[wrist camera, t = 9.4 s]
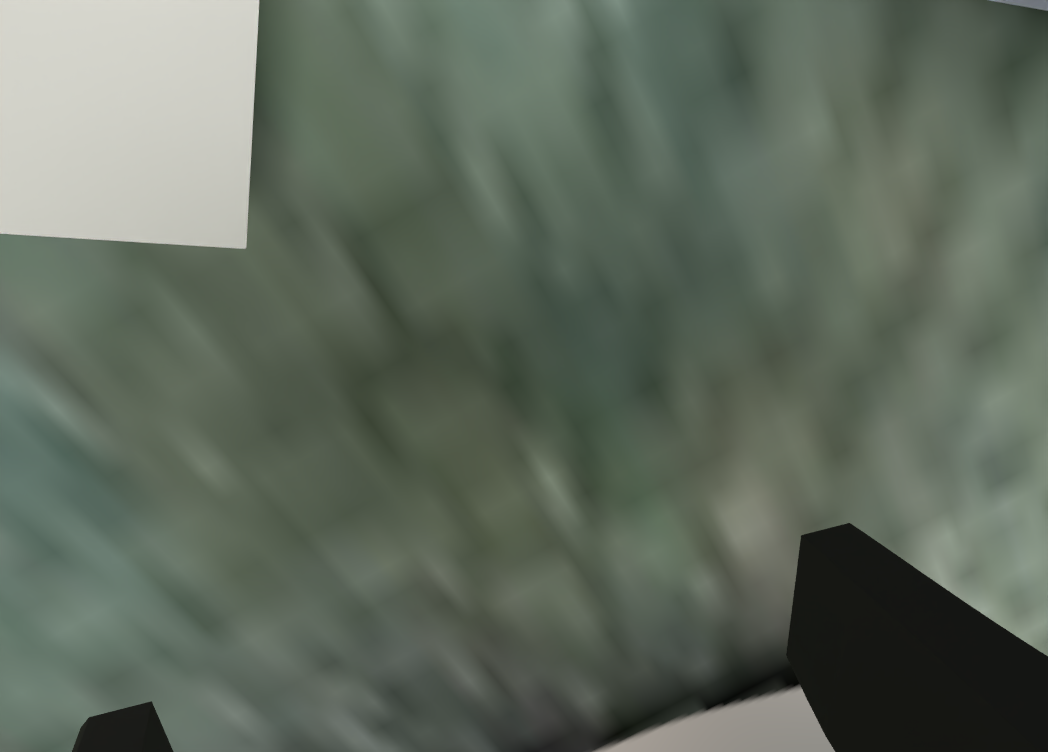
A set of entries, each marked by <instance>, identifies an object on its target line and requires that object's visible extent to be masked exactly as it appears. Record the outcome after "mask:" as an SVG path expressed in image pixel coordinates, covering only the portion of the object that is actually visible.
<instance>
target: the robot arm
mask: <svg viewBox="0 0 1048 752" xmlns="http://www.w3.org/2000/svg"><path fill="white" fill-rule="evenodd" d="M989 1H995V2H1001V3H1006V4H1012V5H1018V6H1023V7H1029V8H1035V9H1040V10H1046V11H1048V0H989ZM786 655H787V658H788V660H789V662H790V664H791V666H792V668H793V670H794V672H795V675H796V677H797V679H798V681H799V683H800V685H801V687H802V689H803V692H804V693H805V696H806V698H807V700H808V702H809V704H810V706H811V708H812V710H813V712H814V714H815V716H816V718H817V719H818V722H819V724H820V726H821V728H822V730H823V732H824V733H825V735H826V737H827V739H828V740H829V742H830V744H831V745H832V747H833V749H834V750H835V752H1048V656H1046V655H1045V654H1043V653H1041V652H1040V651H1038V650H1037V649H1035V648H1034V647H1032V646H1030V645H1029V644H1027V643H1026V642H1024V641H1023V640H1021V639H1020V638H1018V637H1016V636H1015V635H1013V634H1012V633H1010V632H1009V631H1007V630H1006V629H1004V628H1003V627H1001V626H1000V625H998V624H997V623H995V622H994V621H992V620H991V619H989V618H988V617H986V616H985V615H983V614H982V613H980V612H979V611H977V610H976V609H974V608H973V607H971V606H970V605H968V604H967V603H965V602H964V601H962V600H961V599H959V598H958V597H956V596H955V595H954V594H952V593H951V592H949V591H948V590H946V589H945V588H943V587H942V586H940V585H939V584H937V583H936V582H935V581H933V580H932V579H930V578H929V577H927V576H926V575H924V574H923V573H921V572H920V571H919V570H917V569H916V568H914V567H913V566H911V565H910V564H909V563H907V562H906V561H904V560H903V559H901V558H900V557H898V556H897V555H896V554H894V553H893V552H891V551H890V550H888V549H887V548H886V547H884V546H883V545H881V544H880V543H878V542H877V541H875V540H874V539H872V538H871V537H870V536H868V535H867V534H865V533H864V532H862V531H861V530H859V529H858V528H856V527H855V526H853V525H852V524H850V523H848V524H844V525H840V526H836V527H832V528H828V529H824V530H820V531H816V532H812V533H809V534H805V535H801V542H800V550H799V558H798V566H797V574H796V582H795V590H794V598H793V606H792V614H791V622H790V630H789V638H788V646H787V654H786ZM72 752H173V750H172V748H171V745H170V743H169V741H168V738H167V736H166V734H165V731H164V729H163V727H162V724H161V722H160V720H159V717H158V715H157V713H156V710H155V708H154V706H153V703H152V701H151V702H148V703H144V704H140V705H136V706H132V707H128V708H124V709H120V710H116V711H112V712H108V713H104V714H101V715H97V716H93V717H89V718H88V719H87V721H86V722H85V723H84V724H83V726H82V727H81V729H80V731H79V734H78V737H77V739H76V742H75V745H74V748H73V750H72Z"/></svg>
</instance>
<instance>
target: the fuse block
mask: <svg viewBox="0 0 1048 752" xmlns="http://www.w3.org/2000/svg"><path fill="white" fill-rule="evenodd" d="M258 16H259V0H0V234H16V235H32V236H48V237H64V238H80V239H96V240H112V241H128V242H144V243H160V244H176V245H192V246H208V247H224V248H240V249H246V241H247V222H248V203H249V185H250V166H251V147H252V128H253V110H254V91H255V72H256V53H257V35H258Z"/></svg>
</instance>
